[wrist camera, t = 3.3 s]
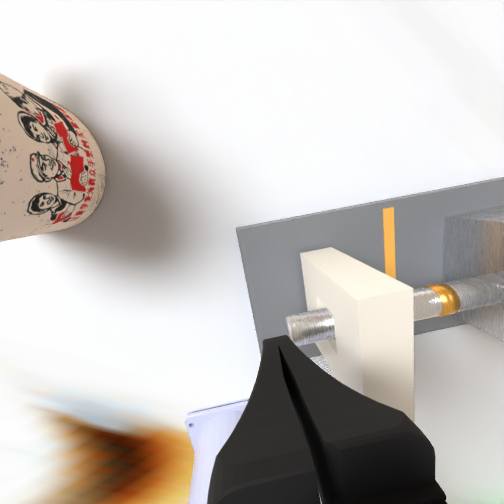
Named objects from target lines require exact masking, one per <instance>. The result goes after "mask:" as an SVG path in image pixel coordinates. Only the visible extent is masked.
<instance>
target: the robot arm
mask: <svg viewBox="0 0 504 504" xmlns="http://www.w3.org/2000/svg"><path fill="white" fill-rule="evenodd" d="M262 344H263V348H262V357H261V362H260V367H259V371H258V375H257V378H256V382H255V385H254V388H253V391H252V393H251V396H250V398H249V400H248V401H244V402H239V403H235V404H230V405H226V406H221V407H217V408H212V409H208V410H203V411H199V412H194V413H190V414H187V415H186V417H185V424H186V427H187V430H188V434H189V437H190V440H191V443H192V446H193V449H194V452H195V460H194V467H193V474H192V481H191V488H190V495H189V502H188V504H320V497H321V501H322V504H447V503H446V501H445V500H446V495H445V493H444V491H443V490H442V489H441V487H440V486H439V484H438V483H437V482H436V480H435V452H434V448H433V446H432V444H431V443H430V441H429V440H428V439H427V437H426V436H425V435H424V434H423V432H422V431H421V430H420V429H419V428H418V427H417V426H416V425H415V424H414V422H413V421H412V420H411V419H410V418H409V417H408V416H407V415H406V414H405V413H404V412H402V411H400V410H397V409H395V408H392V407H390V406H387V405H385V404H382V403H380V402H377V401H375V400H373V399H371V398H369V397H367V396H364V395H362V394H360V393H359V392H357V391H355V390H353V389H351V388H350V387H348V386H346V385H344V384H343V383H341V382H340V381H338V380H336V379H335V378H334V377H332V376H331V375H329V374H328V373H326V372H325V371H324V370H323V369H321V368H320V367H319V366H318V365H316V364H315V363H314V362H313V361H312V360H311V359H309V358H308V357H307V356H306V355H305V354H304V353H303V352H302V351H301V350H300V349H299V348H298V347H297V346H296V345H295V344H294V342H293V341H292V340H291V339H290V338H289V336H287V335H282V336H278V337H273V338H268V339H264V340H263V341H262ZM191 423H193V424H191ZM318 490H319V491H318ZM319 493H320V497H319Z"/></svg>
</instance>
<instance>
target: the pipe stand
mask: <svg viewBox="0 0 504 504" xmlns="http://www.w3.org/2000/svg"><path fill="white" fill-rule="evenodd" d="M450 314H452V315H454V316H456V317H458V318H460V319H462V320H463V321H465V322H467V323H469V324H471V325H473V326H475V327H477V328H478V329H480V330H482V331H484V332H486V333H488V334H490V335H492V336H493V337H495V338H497V339H499V340H501V341H503V342H504V205H501V206H496V207H491V208H486V209H481V210H476V211H471V212H465V213H460V214H455V215H450V216H445V217H444V237H443V275H442V283H439V284H434V285H429V286H424V287H422V288H419V289H414V290H413V318H414V321H417V320H422V319H427V318H432V317H441V316H445V315H450ZM285 320H286V327H287V331H288V335H289V338H290V339H291V340H292V341H293V342H294V344H295V345H296V346H300V345H305V344H310V343H314V342H319V341H324V340H328V339H333V338H336V337H335V328H334V318H333V314H332V313H331V312H330V311H329V310H328V308H322V309H318V310H313V311H308V312H303V313H298V314H293V315H289V316H285Z"/></svg>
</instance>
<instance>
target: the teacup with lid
mask: <svg viewBox="0 0 504 504" xmlns="http://www.w3.org/2000/svg"><path fill="white" fill-rule="evenodd" d="M105 181H106V173H105V165H104V160H103V157H102V154H101V151H100V149H99V147H98V145H97V143H96V141H95V139H94V137H93V136H92V134H91V133H90V132H89V130H88V129H87V128H86V127H85V125H84V124H83V123H82V122H81V121H80V120H79V119H78V118H77V117H76V116H74V115H73V114H72V113H71V112H69V111H68V110H66V109H65V108H63V107H62V106H60V105H58V104H57V103H55V102H53V101H51V100H49V99H47V98H45V97H44V96H42V95H40V94H38V93H36V92H34V91H32V90H30V89H29V88H27V87H25V86H23V85H21V84H19V83H17V82H15V81H14V80H12V79H10V78H8V77H6V76H4V75H2V74H0V242H1V241H6V240H11V239H16V238H22V237H27V236H32V235H37V234H42V233H47V232H53V231H58V230H63V229H67V228H70V227H72V226H75V225H77V224H79V223H81V222H82V221H84V220H85V219H86V218H88V217H89V216H90V215H91V214H92V213H93V212H94V210H95V209H96V208H97V206H98V204H99V203H100V200H101V198H102V196H103V193H104V188H105Z"/></svg>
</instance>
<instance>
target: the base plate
mask: <svg viewBox="0 0 504 504" xmlns="http://www.w3.org/2000/svg"><path fill="white" fill-rule="evenodd" d="M501 205H504V177H502V178H496V179H491V180H486V181H480V182H475V183H470V184H465V185H459V186H454V187H449V188H444V189H438V190H433V191H428V192H423V193H417V194H412V195H407V196H402V197H396V198H391V199H386V200H381V201H375V202H370V203H365V204H360V205H354V206H349V207H344V208H339V209H333V210H328V211H323V212H318V213H312V214H307V215H302V216H296V217H291V218H286V219H281V220H275V221H270V222H265V223H260V224H254V225H249V226H244V227H239V228H236V231H237V237H238V242H239V247H240V252H241V257H242V262H243V267H244V272H245V277H246V282H247V287H248V292H249V297H250V302H251V308H252V313H253V318H254V323H255V328H256V333H257V338H258V343H259V348H260V353H261V357H262V348H263V344H262V341H263V340H264V339H268V338H273V337H278V336H282V335H287V336H289V335H288V331H287V327H286V320H285V316H289V315H293V314H298V313H303V312H308V310H307V302H306V295H305V287H304V279H303V272H302V264H301V257H300V253H304V252H309V251H314V250H319V249H324V248H329V247H332V248H334V249H336V250H338V251H340V252H342V253H344V254H346V255H348V256H350V257H352V258H354V259H356V260H358V261H360V262H362V263H364V264H366V265H368V266H370V267H372V268H374V269H376V270H378V271H380V272H382V273H384V274H386V275H388V276H390V277H392V278H394V279H396V280H398V281H400V282H402V283H404V284H406V285H408V286H410V287H412V288H413V290H414V289H419V288H422V287H424V286H429V285H434V284H439V283H442V275H443V237H444V217H445V216H450V215H455V214H460V213H465V212H471V211H476V210H481V209H486V208H491V207H496V206H501ZM463 324H467V322H465V321H463V320H462V319H460V318H458V317H456V316H454V315H452V314H450V315H445V316H441V317H432V318H427V319H422V320H417V321H414V335H417V334H421V333H426V332H430V331H435V330H440V329H444V328H449V327H454V326H458V325H463ZM297 347H298V348H299V349H300V350H301V351H302V352H303V353H304V354H305V355H306V356H307V357H308V358H310V357H315V356H319V355H322V354H321V352H320V350H319V349H318V347H317V345H316V343H315V342H314V343H310V344H305V345H300V346H297Z"/></svg>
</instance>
